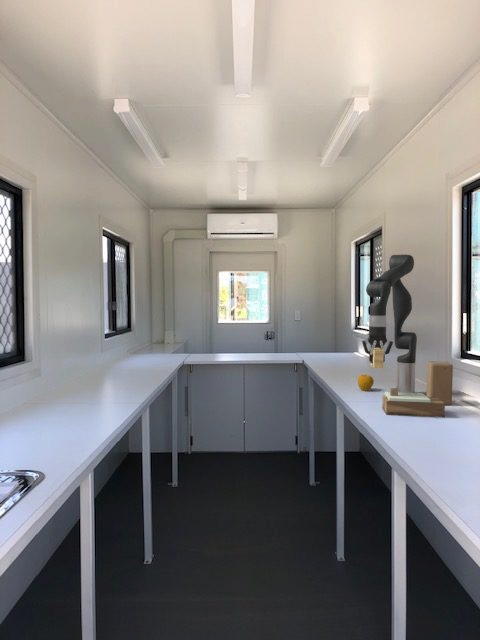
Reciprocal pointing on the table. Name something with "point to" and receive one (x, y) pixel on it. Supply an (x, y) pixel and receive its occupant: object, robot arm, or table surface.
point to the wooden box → (414, 407)
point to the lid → (406, 396)
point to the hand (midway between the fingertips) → (376, 362)
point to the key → (377, 358)
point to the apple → (365, 382)
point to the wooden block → (439, 381)
